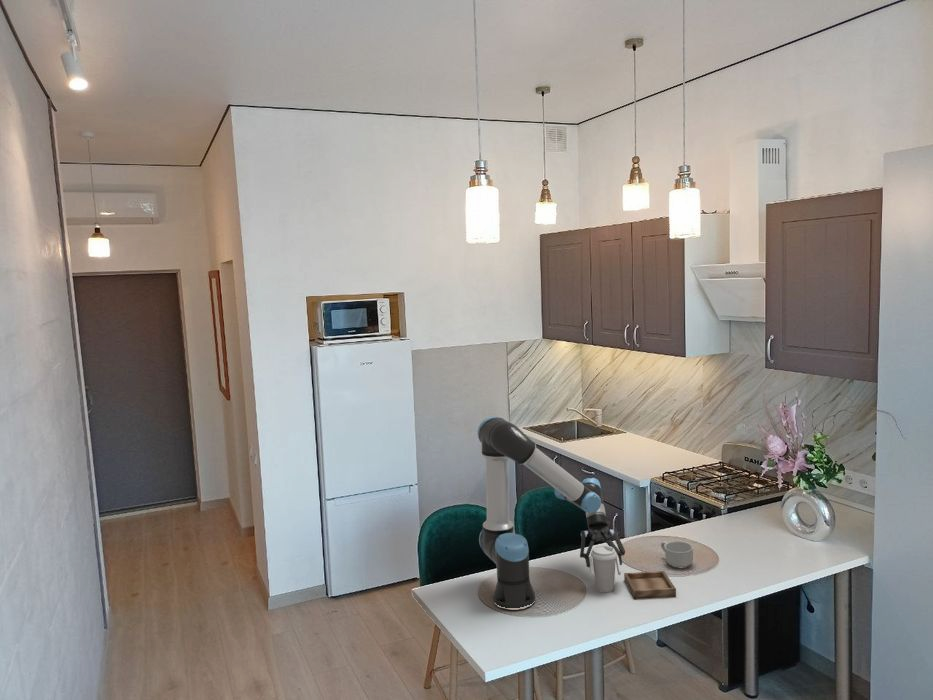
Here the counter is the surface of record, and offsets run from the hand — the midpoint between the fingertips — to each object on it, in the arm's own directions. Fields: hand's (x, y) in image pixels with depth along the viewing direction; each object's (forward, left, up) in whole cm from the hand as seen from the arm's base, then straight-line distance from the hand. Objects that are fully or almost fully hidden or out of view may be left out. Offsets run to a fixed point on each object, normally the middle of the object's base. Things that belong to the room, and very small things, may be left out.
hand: (606, 574), depth 253 cm
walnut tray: (+16, +1, -7) cm, 17 cm away
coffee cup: (0, +3, -7) cm, 8 cm away
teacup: (+32, +21, -7) cm, 39 cm away
